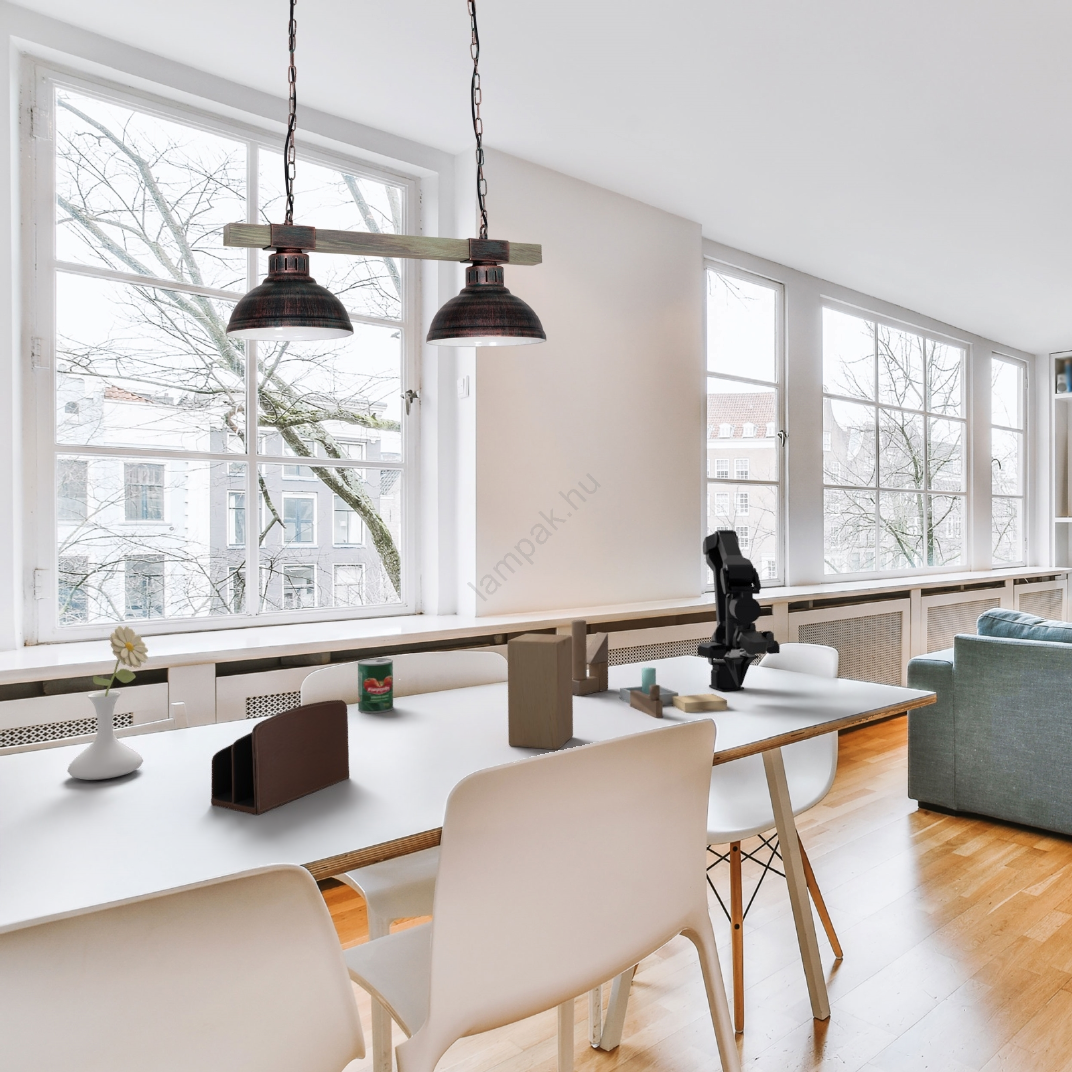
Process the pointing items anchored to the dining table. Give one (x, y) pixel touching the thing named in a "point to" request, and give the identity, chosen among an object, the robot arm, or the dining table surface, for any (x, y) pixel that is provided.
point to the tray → (665, 693)
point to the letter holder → (283, 759)
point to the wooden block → (540, 691)
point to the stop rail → (648, 701)
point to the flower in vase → (111, 717)
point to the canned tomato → (375, 685)
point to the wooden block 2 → (588, 660)
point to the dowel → (648, 679)
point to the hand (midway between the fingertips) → (739, 685)
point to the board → (699, 703)
